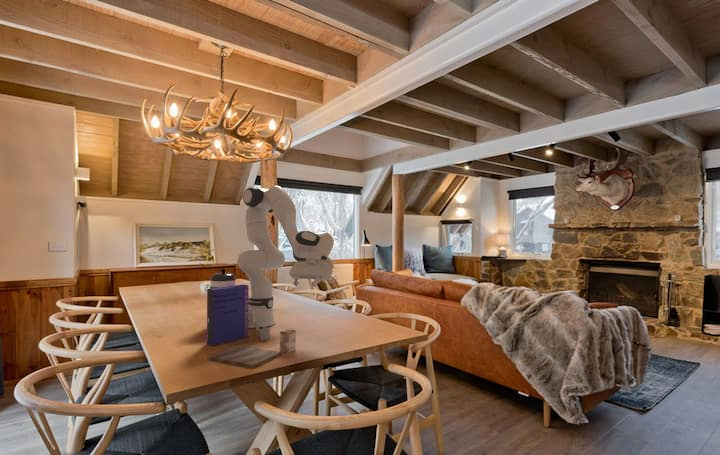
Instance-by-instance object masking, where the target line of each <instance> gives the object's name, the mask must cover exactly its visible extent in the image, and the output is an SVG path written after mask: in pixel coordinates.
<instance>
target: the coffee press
mask: <svg viewBox="0 0 720 455" xmlns="http://www.w3.org/2000/svg"><path fill="white" fill-rule="evenodd" d="M226 271H227V269H226V268H225V267H223V268H221V270H220V272H217V273H214V274H212V275H211V277H210V278H209V281H210V286H209V289H210V288H219V287H227V286H235V285H237V284H236V283H237V282H236V281H237V277H236V275H235V273H232V272H226Z"/></svg>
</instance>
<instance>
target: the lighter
mask: <svg viewBox="0 0 720 455" xmlns="http://www.w3.org/2000/svg"><path fill="white" fill-rule="evenodd" d="M253 324H254V326H255V330H256V331H257V332H259V340H260V341H264V340H270V336H271V335H270V334H271V333H270V328H269V327H268V326H266V327H262V328H261V327H259V326H258V324H257V322H254V323H253Z"/></svg>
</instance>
